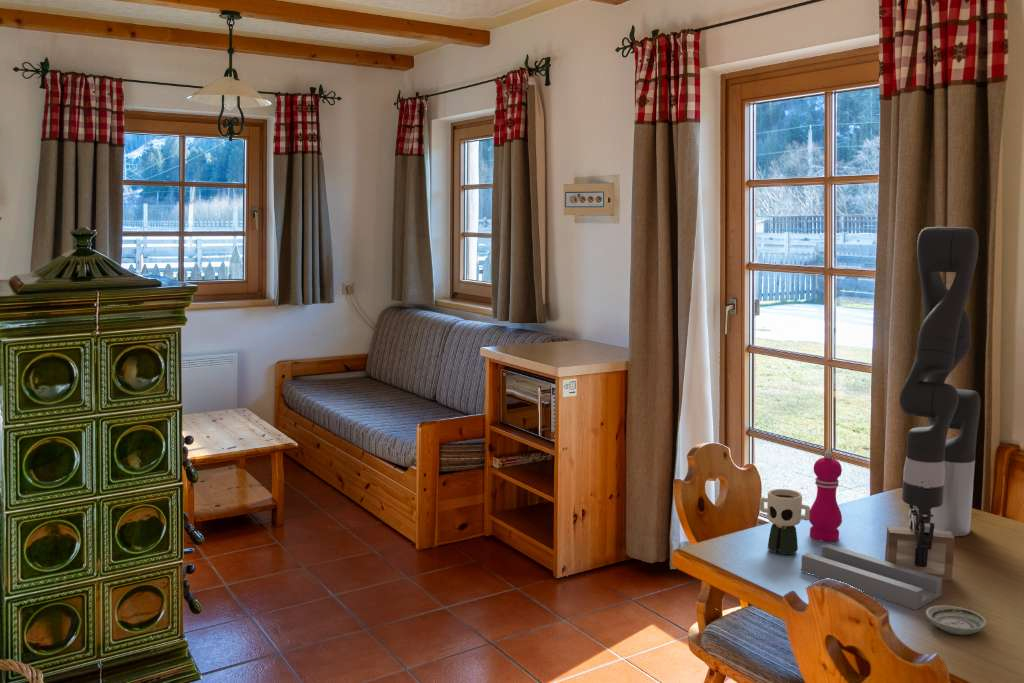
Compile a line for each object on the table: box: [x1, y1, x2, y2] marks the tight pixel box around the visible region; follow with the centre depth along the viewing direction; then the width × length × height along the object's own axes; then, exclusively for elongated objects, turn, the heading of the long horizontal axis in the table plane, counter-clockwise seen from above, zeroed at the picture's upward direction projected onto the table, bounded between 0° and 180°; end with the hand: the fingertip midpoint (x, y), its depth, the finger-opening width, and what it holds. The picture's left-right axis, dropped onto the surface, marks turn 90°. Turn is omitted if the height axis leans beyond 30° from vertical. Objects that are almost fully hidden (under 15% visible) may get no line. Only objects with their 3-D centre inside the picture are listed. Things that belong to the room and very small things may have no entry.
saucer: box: [925, 604, 987, 636], centre depth 161 cm, size 10×10×2 cm
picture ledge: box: [800, 543, 943, 611], centre depth 180 cm, size 10×24×4 cm, turn 40°
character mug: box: [759, 488, 811, 555], centre depth 197 cm, size 11×7×13 cm, turn 55°
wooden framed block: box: [884, 525, 956, 582], centre depth 184 cm, size 4×12×9 cm, turn 75°
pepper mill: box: [808, 450, 843, 543], centre depth 205 cm, size 7×7×20 cm
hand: (918, 561), depth 185 cm, fingers open, 4 cm apart
